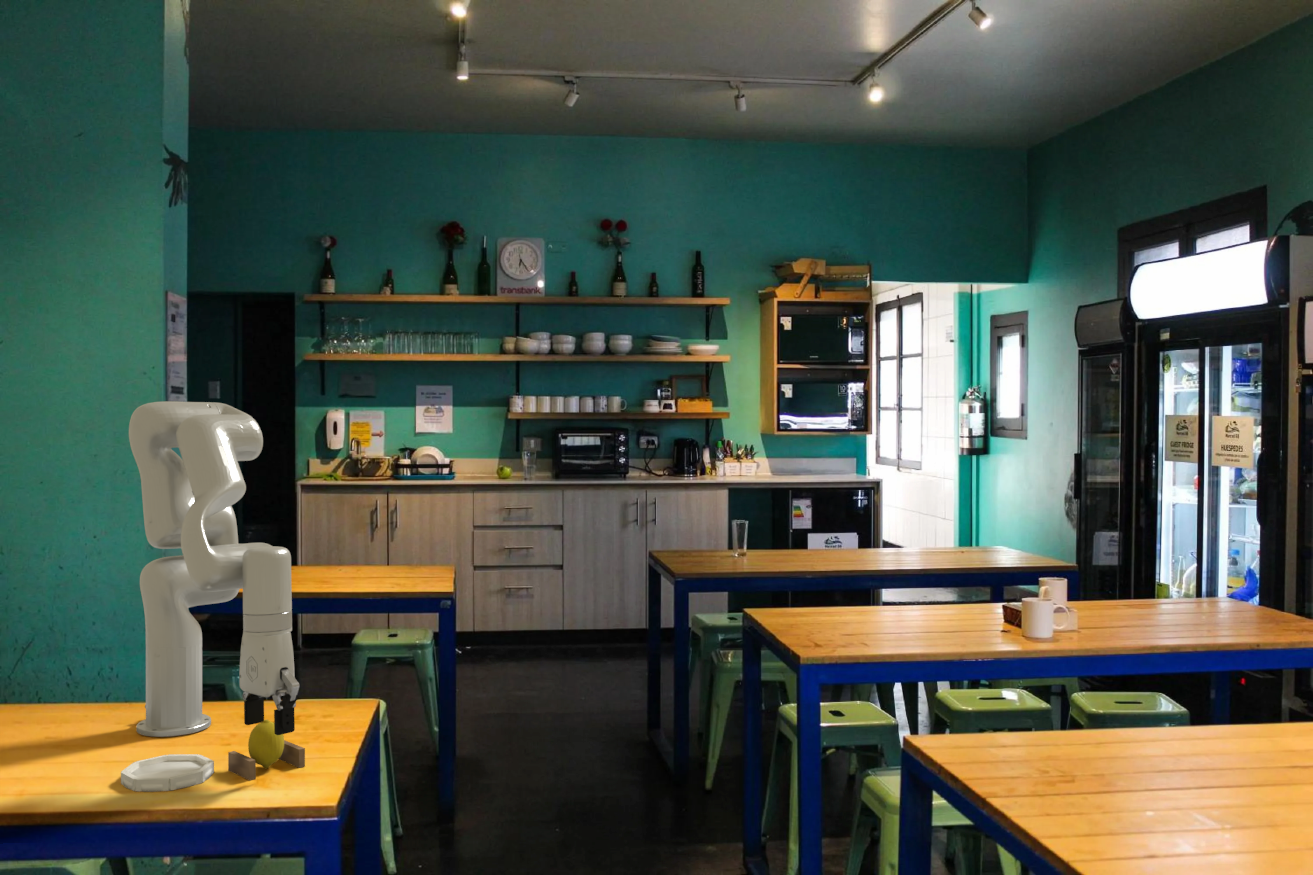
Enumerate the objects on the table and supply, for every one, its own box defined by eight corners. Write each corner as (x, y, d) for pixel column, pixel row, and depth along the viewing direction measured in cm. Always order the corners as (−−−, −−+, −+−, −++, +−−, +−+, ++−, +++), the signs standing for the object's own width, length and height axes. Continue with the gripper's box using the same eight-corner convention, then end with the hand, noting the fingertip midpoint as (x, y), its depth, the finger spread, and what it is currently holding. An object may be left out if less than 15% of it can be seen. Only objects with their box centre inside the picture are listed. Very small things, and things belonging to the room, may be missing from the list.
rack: (228, 770, 178) (228, 752, 178) (283, 757, 185) (283, 739, 185) (249, 780, 173) (249, 761, 173) (304, 766, 180) (304, 748, 180)
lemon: (272, 774, 176) (272, 725, 176) (241, 772, 177) (241, 723, 177) (290, 764, 182) (290, 716, 181) (260, 761, 183) (260, 714, 182)
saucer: (109, 778, 174) (108, 766, 174) (189, 759, 184) (190, 748, 184) (143, 797, 165) (143, 785, 165) (227, 777, 175) (227, 765, 175)
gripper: (220, 620, 182) (221, 724, 182) (273, 631, 170) (274, 742, 170) (262, 615, 187) (264, 715, 187) (316, 625, 176) (318, 732, 176)
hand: (269, 728), depth 179 cm, fingers open, 9 cm apart
